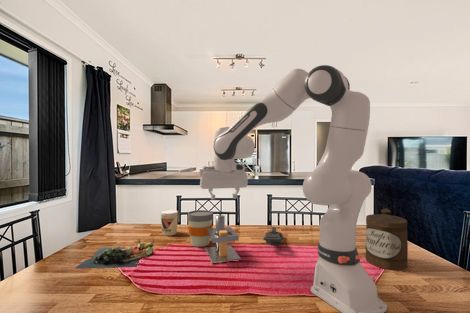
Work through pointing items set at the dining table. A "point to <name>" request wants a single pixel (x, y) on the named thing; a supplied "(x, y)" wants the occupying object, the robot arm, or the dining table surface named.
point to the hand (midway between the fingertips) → (224, 198)
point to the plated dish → (118, 256)
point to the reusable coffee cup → (199, 227)
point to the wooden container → (386, 240)
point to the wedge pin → (223, 244)
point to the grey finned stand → (215, 238)
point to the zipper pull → (273, 237)
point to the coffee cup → (169, 222)
